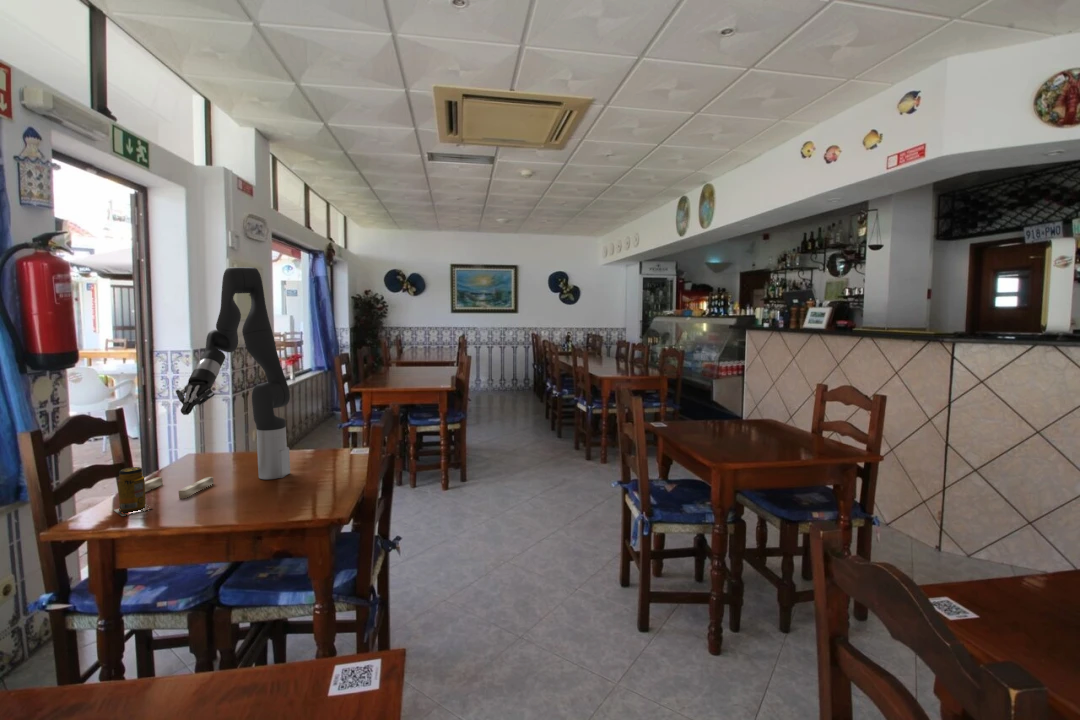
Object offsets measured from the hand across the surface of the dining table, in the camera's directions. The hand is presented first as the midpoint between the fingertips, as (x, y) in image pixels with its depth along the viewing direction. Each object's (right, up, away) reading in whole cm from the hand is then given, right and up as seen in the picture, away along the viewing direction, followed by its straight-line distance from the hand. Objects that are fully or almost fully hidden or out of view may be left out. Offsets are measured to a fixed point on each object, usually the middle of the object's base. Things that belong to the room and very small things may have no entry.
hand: (184, 413), depth 175 cm
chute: (+2, -24, -10) cm, 26 cm away
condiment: (+3, -26, -26) cm, 37 cm away
